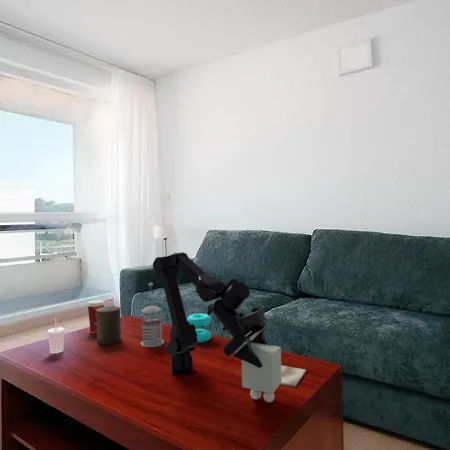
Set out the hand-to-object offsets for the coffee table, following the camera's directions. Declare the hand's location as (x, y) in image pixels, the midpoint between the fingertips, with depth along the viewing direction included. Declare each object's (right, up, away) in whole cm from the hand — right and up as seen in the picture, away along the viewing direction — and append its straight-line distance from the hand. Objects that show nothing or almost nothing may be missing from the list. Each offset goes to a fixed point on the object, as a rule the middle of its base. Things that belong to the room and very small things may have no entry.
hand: (266, 361), depth 98 cm
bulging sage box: (-1, -7, +1) cm, 7 cm away
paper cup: (-70, -12, +66) cm, 97 cm away
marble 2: (+1, -11, 0) cm, 11 cm away
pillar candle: (-60, -12, +53) cm, 82 cm away
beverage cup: (-77, -12, +41) cm, 88 cm away
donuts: (-22, -11, +53) cm, 58 cm away
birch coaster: (+7, -10, +16) cm, 20 cm away
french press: (-41, -11, +49) cm, 65 cm away
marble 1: (-3, -11, +2) cm, 11 cm away
